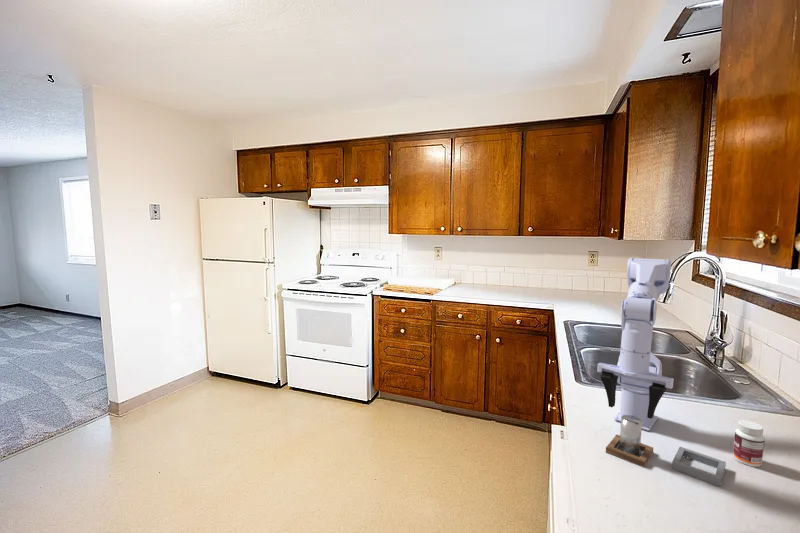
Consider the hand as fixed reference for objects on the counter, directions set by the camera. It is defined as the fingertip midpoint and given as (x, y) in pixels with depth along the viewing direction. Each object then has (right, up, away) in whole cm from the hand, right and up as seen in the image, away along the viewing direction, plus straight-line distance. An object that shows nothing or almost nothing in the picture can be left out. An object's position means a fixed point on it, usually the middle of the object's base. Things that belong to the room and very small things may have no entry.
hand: (630, 411), depth 85 cm
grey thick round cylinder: (+1, -10, +1) cm, 10 cm away
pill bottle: (+25, -10, -2) cm, 27 cm away
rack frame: (+12, -11, -4) cm, 16 cm away
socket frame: (+1, -10, +1) cm, 10 cm away
